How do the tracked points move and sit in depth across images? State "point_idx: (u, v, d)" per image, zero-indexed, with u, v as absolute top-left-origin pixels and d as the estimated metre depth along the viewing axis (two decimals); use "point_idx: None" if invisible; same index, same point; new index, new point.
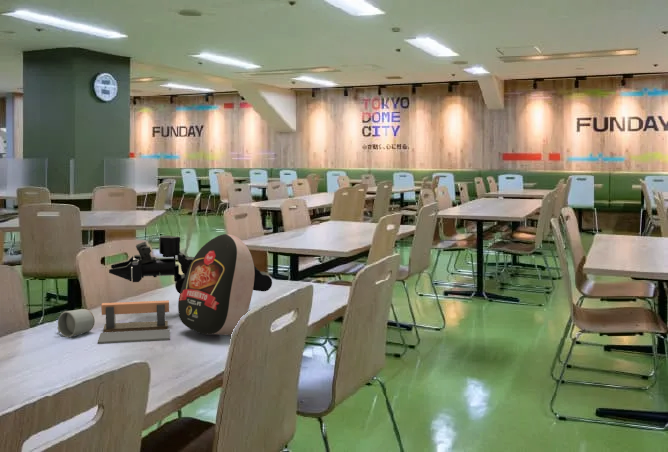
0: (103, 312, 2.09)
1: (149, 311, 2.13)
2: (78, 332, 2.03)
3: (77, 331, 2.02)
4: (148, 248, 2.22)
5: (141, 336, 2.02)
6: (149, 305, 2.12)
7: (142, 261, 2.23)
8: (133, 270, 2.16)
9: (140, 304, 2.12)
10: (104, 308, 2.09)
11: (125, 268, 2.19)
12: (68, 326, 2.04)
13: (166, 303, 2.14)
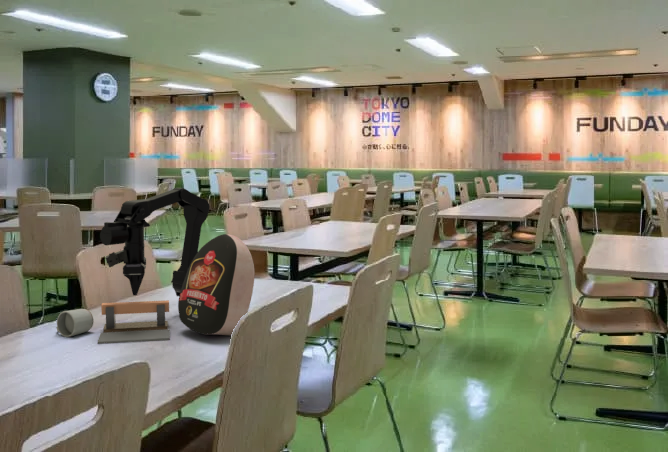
0: (103, 312, 2.09)
1: (149, 311, 2.13)
2: (77, 332, 2.03)
3: (76, 331, 2.02)
4: (110, 255, 2.06)
5: (141, 336, 2.02)
6: (149, 305, 2.12)
7: (125, 261, 2.08)
8: (130, 272, 2.03)
9: (140, 304, 2.12)
10: (104, 308, 2.09)
11: (130, 279, 2.06)
12: (67, 326, 2.05)
13: (166, 303, 2.14)
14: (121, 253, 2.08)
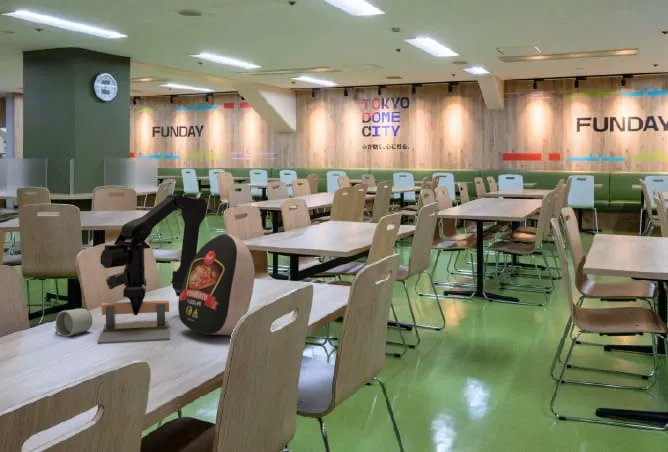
0: (103, 312, 2.09)
1: (149, 311, 2.13)
2: (76, 331, 2.03)
3: (75, 331, 2.03)
4: (110, 278, 2.06)
5: (141, 336, 2.02)
6: (149, 305, 2.12)
7: (126, 283, 2.09)
8: (131, 295, 2.03)
9: None
10: (104, 308, 2.09)
11: (131, 299, 2.09)
12: (66, 326, 2.05)
13: (166, 303, 2.14)
14: (121, 275, 2.09)
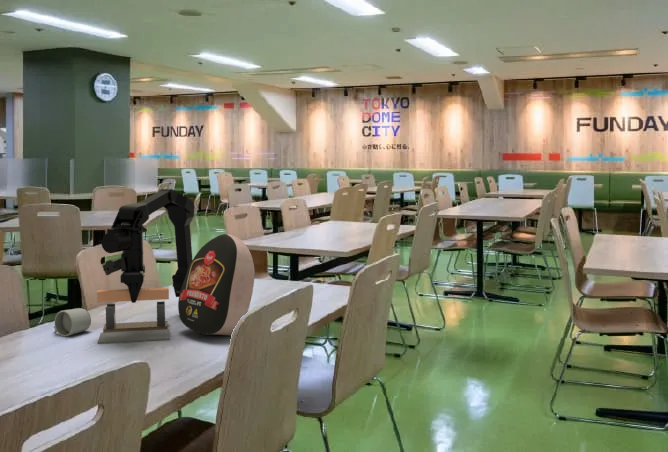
0: (99, 299, 1.98)
1: (148, 298, 2.01)
2: (75, 331, 2.04)
3: (74, 330, 2.03)
4: (106, 263, 1.95)
5: (141, 336, 2.02)
6: (148, 292, 2.01)
7: (123, 268, 1.98)
8: (129, 281, 1.92)
9: None
10: (100, 295, 1.98)
11: (129, 286, 1.98)
12: (65, 325, 2.05)
13: (166, 290, 2.02)
14: (119, 260, 1.98)
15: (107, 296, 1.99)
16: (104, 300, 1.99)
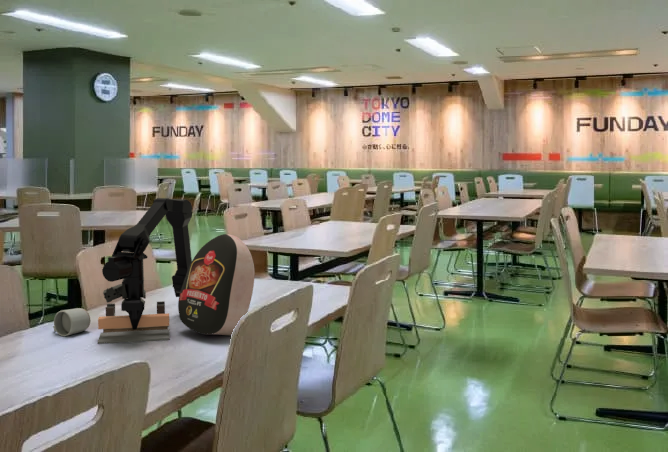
0: (100, 326, 1.99)
1: (148, 325, 2.02)
2: (74, 331, 2.04)
3: (73, 330, 2.03)
4: (107, 290, 1.96)
5: (141, 336, 2.02)
6: (149, 319, 2.02)
7: (124, 296, 1.98)
8: (129, 309, 1.93)
9: None
10: (101, 323, 1.99)
11: (130, 313, 1.99)
12: (64, 325, 2.05)
13: (166, 316, 2.03)
14: (119, 288, 1.99)
15: (108, 323, 1.99)
16: (105, 327, 1.99)
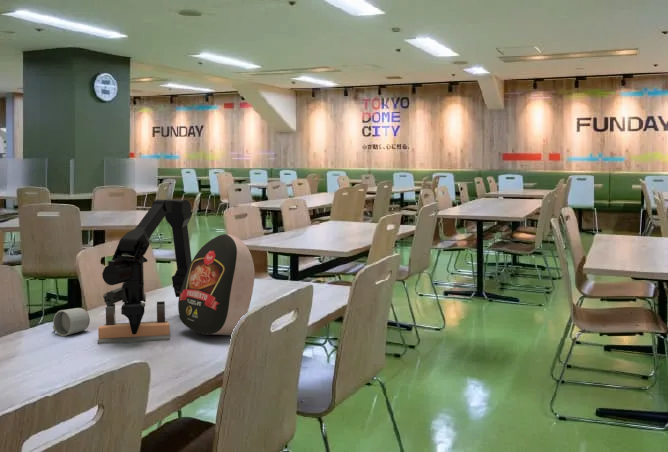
0: (100, 336, 1.99)
1: (148, 334, 2.03)
2: (73, 331, 2.04)
3: (72, 330, 2.03)
4: (107, 294, 1.96)
5: (141, 336, 2.02)
6: (149, 328, 2.02)
7: (124, 299, 1.98)
8: (129, 313, 1.93)
9: (139, 327, 2.02)
10: (101, 332, 1.99)
11: (130, 318, 1.97)
12: (63, 325, 2.05)
13: (166, 326, 2.04)
14: (119, 291, 1.99)
15: (108, 332, 2.00)
16: (105, 336, 2.00)
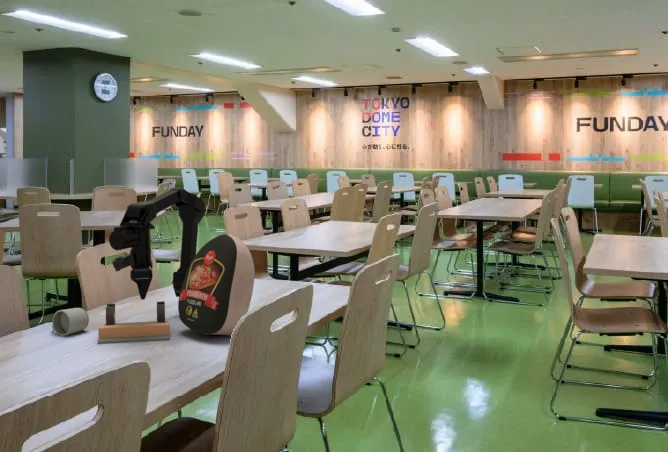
0: (100, 336, 1.99)
1: (148, 334, 2.03)
2: (72, 331, 2.04)
3: (71, 330, 2.03)
4: (116, 259, 2.02)
5: (141, 336, 2.02)
6: (149, 328, 2.02)
7: (132, 264, 2.05)
8: (138, 277, 1.99)
9: (139, 327, 2.02)
10: (101, 332, 1.99)
11: (138, 283, 2.03)
12: (62, 325, 2.06)
13: (166, 326, 2.04)
14: (128, 257, 2.05)
15: (108, 332, 2.00)
16: (105, 336, 2.00)
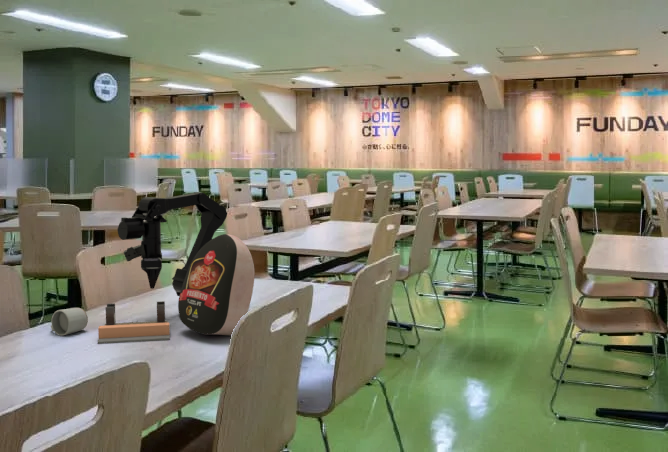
0: (100, 336, 1.99)
1: (148, 334, 2.03)
2: (71, 330, 2.04)
3: (70, 329, 2.04)
4: (128, 250, 2.12)
5: (141, 336, 2.02)
6: (149, 328, 2.02)
7: (143, 255, 2.15)
8: (148, 266, 2.09)
9: (139, 327, 2.02)
10: (101, 332, 1.99)
11: (148, 273, 2.13)
12: (61, 325, 2.06)
13: (166, 326, 2.04)
14: (139, 248, 2.15)
15: (108, 332, 2.00)
16: (105, 336, 2.00)
